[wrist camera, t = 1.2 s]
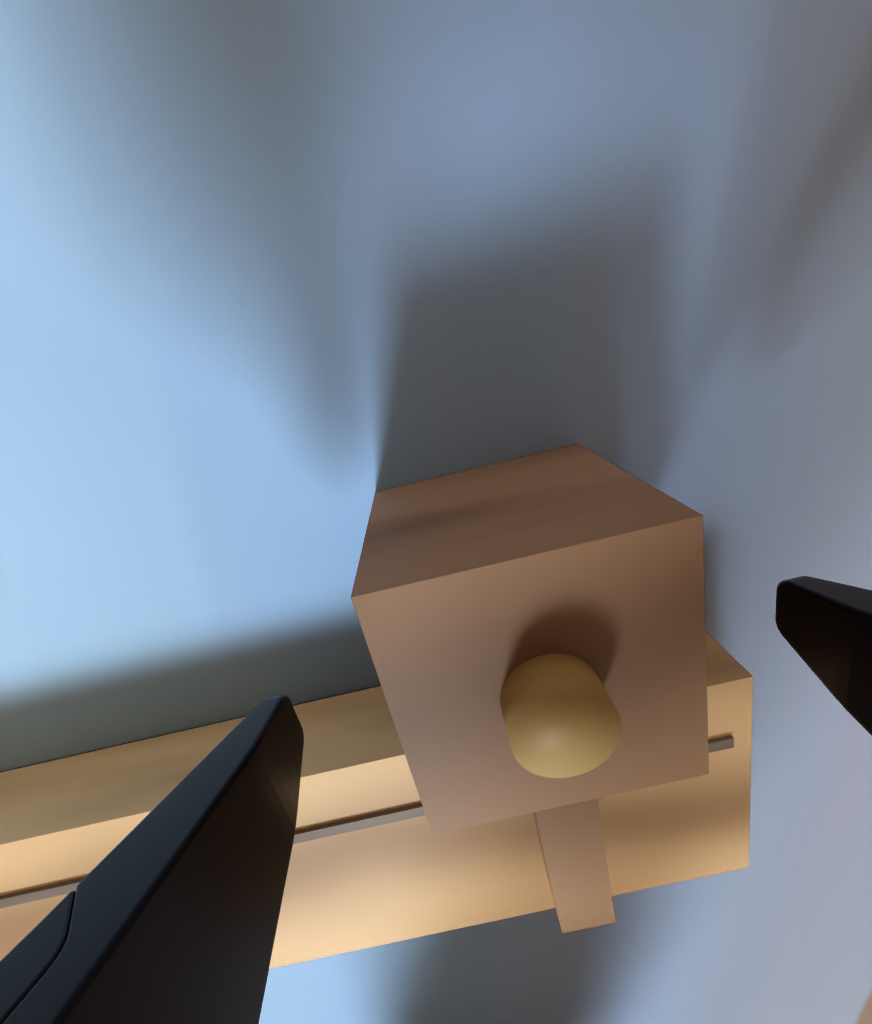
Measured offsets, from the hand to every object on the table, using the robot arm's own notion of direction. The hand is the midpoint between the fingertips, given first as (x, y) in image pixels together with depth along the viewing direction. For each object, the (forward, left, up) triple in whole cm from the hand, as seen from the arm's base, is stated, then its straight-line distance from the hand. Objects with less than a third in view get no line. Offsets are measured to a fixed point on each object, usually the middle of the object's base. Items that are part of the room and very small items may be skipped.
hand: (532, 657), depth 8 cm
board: (-6, +7, -4) cm, 10 cm away
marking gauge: (-2, 0, -4) cm, 5 cm away
